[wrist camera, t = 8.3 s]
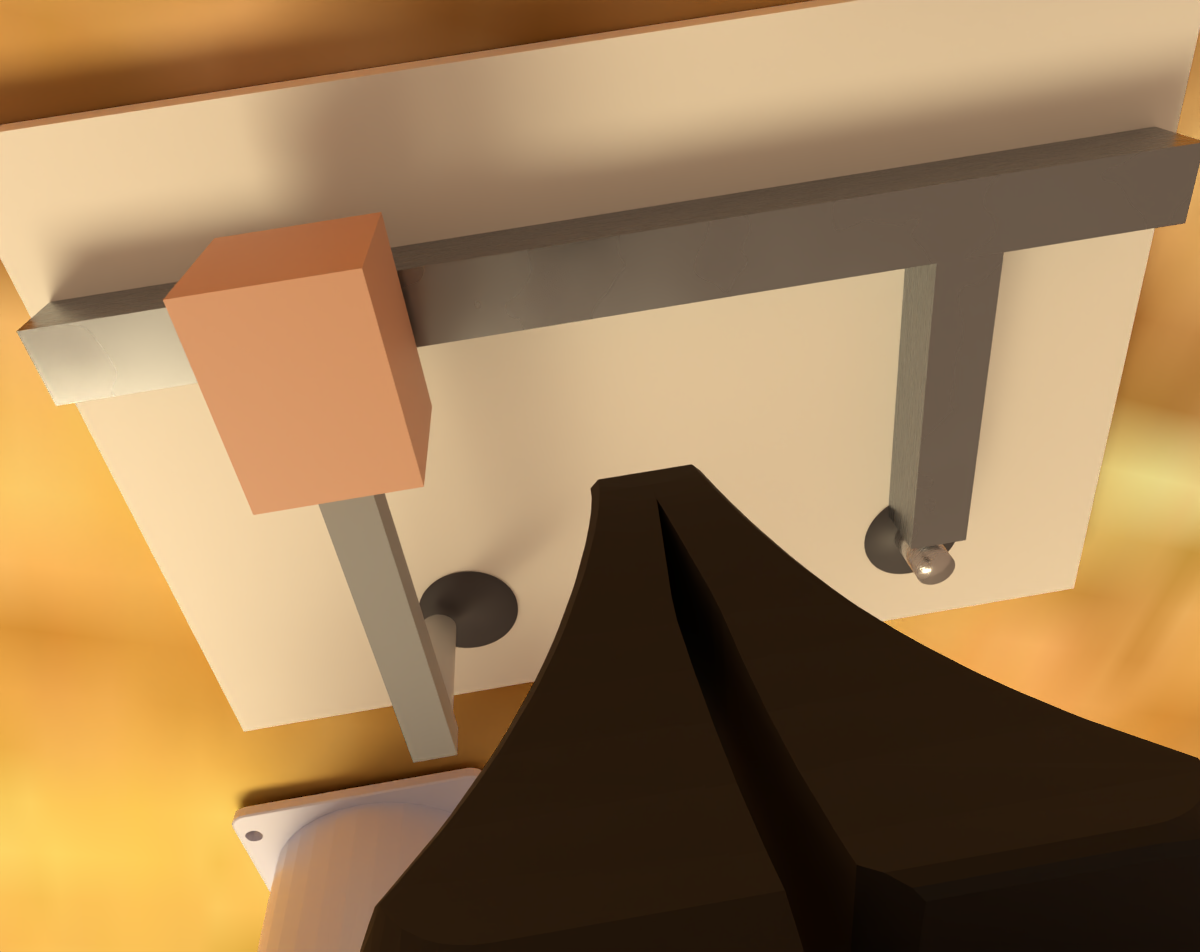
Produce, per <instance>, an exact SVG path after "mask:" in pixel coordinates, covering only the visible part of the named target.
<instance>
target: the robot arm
mask: <svg viewBox="0 0 1200 952" xmlns="http://www.w3.org/2000/svg"><path fill="white" fill-rule="evenodd" d="M591 496H592V501H591V515H590V522H589V528H588V533H587V538H586V543H585V547H584V551H583V555H582V558H581V562H580V566H579V570H578V573H577V577H576V580H575V584H574V587H573V590H572V593H571V595H570V598H569V601H568V603H567V606H566V609H565V612H564V614H563V617H562V620H561V623H560V625H559V628H558V631H557V633H556V636H555V638H554V640H553V643H552V645H551V647H550V650H549V652H548V654H547V656H546V658H545V661H544V663H543V665H542V667H541V669H540V671H539V673H538V675H537V677H536V679H535V681H534V683H533V685H532V687H531V689H530V691H529V693H528V695H527V697H526V698H525V700H524V702H523V704H522V705H521V707H520V709H519V711H518V713H517V714H516V716H515V718H514V720H513V722H512V723H511V725H510V727H509V729H508V730H507V732H506V734H505V735H504V737H503V739H502V740H501V742H500V743H499V745H498V747H497V748H496V750H495V751H494V753H493V755H492V756H491V758H490V759H489V761H488V762H487V763H486V765H485V766H484V768H483V769H482V770H480V769H477V768H464V769H458V770H453V771H447V772H441V773H435V774H430V775H424V776H418V777H413V778H407V779H401V780H395V781H390V782H384V783H378V784H373V785H367V786H361V787H355V788H350V789H344V790H338V791H333V792H327V793H321V794H315V795H310V796H304V797H298V798H293V799H287V800H281V801H275V802H270V803H264V804H258V805H253V806H247V807H244V808H241V809H239V810H238V811H236V813H235V815H234V819H233V822H232V825H233V829H234V830H235V832H236V834H237V836H238V837H239V839H240V841H241V842H242V844H243V846H244V848H245V849H246V851H247V853H248V855H249V856H250V858H251V860H252V862H253V863H254V865H255V867H256V869H257V870H258V872H259V874H260V875H261V877H262V879H263V881H264V882H265V884H266V886H267V888H268V889H269V891H270V896H269V900H268V905H267V910H266V914H265V919H264V923H263V928H262V933H261V937H260V942H259V946H258V951H257V952H1200V760H1199V759H1198V758H1196V757H1193V756H1190V755H1188V754H1185V753H1182V752H1179V751H1176V750H1173V749H1170V748H1167V747H1164V746H1162V745H1159V744H1156V743H1153V742H1150V741H1147V740H1144V739H1141V738H1138V737H1136V736H1133V735H1130V734H1127V733H1124V732H1121V731H1118V730H1115V729H1112V728H1110V727H1107V726H1104V725H1101V724H1098V723H1095V722H1092V721H1089V720H1087V719H1084V718H1081V717H1079V716H1076V715H1074V714H1071V713H1069V712H1066V711H1064V710H1061V709H1059V708H1057V707H1054V706H1052V705H1049V704H1047V703H1045V702H1042V701H1040V700H1037V699H1035V698H1033V697H1030V696H1028V695H1025V694H1023V693H1021V692H1018V691H1016V690H1014V689H1011V688H1009V687H1007V686H1005V685H1003V684H1000V683H998V682H996V681H994V680H992V679H990V678H987V677H985V676H983V675H981V674H979V673H977V672H975V671H972V670H970V669H969V668H967V667H965V666H963V665H961V664H959V663H957V662H955V661H953V660H951V659H949V658H947V657H945V656H943V655H941V654H939V653H937V652H935V651H933V650H932V649H930V648H928V647H926V646H924V645H922V644H920V643H918V642H917V641H915V640H913V639H911V638H909V637H908V636H906V635H904V634H902V633H901V632H899V631H897V630H895V629H894V628H892V627H891V626H889V625H887V624H886V623H884V622H882V621H881V620H879V619H878V618H876V617H874V616H873V615H871V614H870V613H868V612H866V611H865V610H863V609H862V608H860V607H858V606H857V605H855V604H854V603H852V602H851V601H850V600H848V599H847V598H845V597H844V596H842V595H841V594H840V593H838V592H837V591H835V590H834V589H833V588H831V587H830V586H829V585H827V584H826V583H825V582H823V581H822V580H821V579H819V578H818V577H817V576H815V575H814V574H813V573H811V572H810V571H809V570H808V569H806V568H805V567H804V566H802V565H801V564H800V563H799V562H798V561H796V560H795V559H794V558H793V557H791V556H790V555H789V554H788V553H787V552H785V551H784V550H783V549H782V548H781V547H780V546H778V545H777V544H776V543H775V542H774V541H773V540H772V539H770V538H769V537H768V536H767V535H766V534H765V533H763V532H762V531H761V530H760V529H759V528H758V527H757V526H756V525H754V524H753V523H752V522H751V521H750V520H749V519H748V518H747V517H746V516H745V515H744V514H743V513H742V512H741V511H740V510H738V509H737V508H736V507H735V506H734V505H733V504H732V503H731V502H730V501H729V500H728V499H727V498H726V497H725V496H724V495H723V494H722V493H721V492H720V491H719V490H718V489H717V488H716V487H715V486H714V485H713V483H712V482H711V481H710V480H709V479H708V478H707V477H706V476H705V475H704V474H703V473H702V472H701V471H700V470H699V469H698V468H696V467H695V466H694V465H692V464H690V465H684V466H678V467H671V468H665V469H659V470H653V471H647V472H641V473H634V474H628V475H622V476H616V477H610V478H604V479H598V480H597V481H596V483H595V484H594V485H593V486H592V487H591Z"/></svg>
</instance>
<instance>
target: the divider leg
mask: <svg viewBox="0 0 1200 952" xmlns="http://www.w3.org/2000/svg"><path fill="white" fill-rule="evenodd" d="M163 302H164V304H165V306H166V309H167V311H168V313H169V316H170V318H171V321H172V323H173V325H174V328H175V330H176V332H177V335H178V337H179V340H180V342H181V344H182V347H183V349H184V351H185V354H186V356H187V359H188V361H189V363H190V366H191V368H192V370H193V373H194V375H195V378H196V380H197V382H198V385H199V387H200V389H201V392H202V394H203V397H204V399H205V401H206V404H207V406H208V408H209V411H210V413H211V416H212V418H213V420H214V423H215V425H216V427H217V430H218V432H219V435H220V437H221V439H222V442H223V444H224V446H225V449H226V451H227V454H228V456H229V458H230V461H231V463H232V465H233V468H234V470H235V473H236V475H237V477H238V480H239V482H240V484H241V487H242V489H243V492H244V494H245V496H246V499H247V501H248V503H249V506H250V508H251V511H252V513H253V515H257V514H263V513H269V512H275V511H281V510H287V509H293V508H299V507H305V506H311V505H317V504H318V505H319V508H320V510H321V513H322V516H323V518H324V521H325V524H326V527H327V529H328V532H329V535H330V538H331V540H332V543H333V546H334V548H335V551H336V554H337V557H338V559H339V562H340V565H341V567H342V570H343V573H344V576H345V578H346V581H347V584H348V586H349V589H350V592H351V595H352V597H353V600H354V603H355V605H356V608H357V611H358V614H359V616H360V619H361V622H362V624H363V627H364V630H365V633H366V635H367V638H368V641H369V644H370V646H371V649H372V652H373V654H374V657H375V660H376V663H377V665H378V668H379V671H380V673H381V676H382V679H383V682H384V684H385V687H386V690H387V692H388V695H389V698H390V701H391V703H392V706H393V709H394V711H395V714H396V717H397V720H398V722H399V725H400V728H401V730H402V733H403V736H404V739H405V741H406V744H407V747H408V750H409V752H410V755H411V758H412V760H413V763H414V762H420V761H426V760H431V759H437V758H443V757H448V756H454V755H457V752H458V725H457V722H456V719H455V715H454V712H453V702H454V676H455V649H456V624H455V622H454V621H453V620H452V619H451V618H450V617H448V616H445V615H432V616H430V617H428V618H426V619H425V620H424V617H423V614H422V610H421V607H420V604H419V601H418V598H417V595H416V591H415V588H414V585H413V582H412V579H411V576H410V572H409V569H408V566H407V563H406V560H405V556H404V553H403V550H402V547H401V544H400V541H399V537H398V534H397V531H396V528H395V525H394V521H393V518H392V515H391V512H390V509H389V506H388V502H387V499H386V496H385V493H389V492H395V491H401V490H407V489H413V488H419V487H424V480H425V471H426V461H427V451H428V442H429V432H430V423H431V413H432V404H431V400H430V397H429V393H428V389H427V385H426V381H425V377H424V374H423V370H422V366H421V362H420V358H419V354H418V351H417V347H416V343H415V339H414V335H413V331H412V328H411V324H410V320H409V316H408V312H407V308H406V305H405V301H404V297H403V293H402V289H401V285H400V282H399V278H398V274H397V270H396V266H395V263H394V259H393V255H392V251H391V247H390V243H389V240H388V236H387V232H386V228H385V224H384V220H383V217H382V213H381V212H378V213H371V214H365V215H359V216H352V217H346V218H340V219H333V220H327V221H321V222H314V223H308V224H302V225H295V226H289V227H283V228H276V229H270V230H264V231H257V232H251V233H244V234H238V235H232V236H225V237H219V238H214V239H213V240H212V242H211V243H210V244H209V245H208V246H207V248H206V249H205V250H204V251H203V252H202V254H201V255H200V256H199V257H198V258H197V260H196V261H195V262H194V263H193V264H192V266H191V267H190V268H189V269H188V270H187V272H186V273H185V274H184V275H183V276H182V278H181V279H180V280H179V281H178V282H177V284H176V285H175V286H174V287H173V288H172V290H171V291H170V292H169V293H168V294H167V296H166V297H165V298H164V299H163Z"/></svg>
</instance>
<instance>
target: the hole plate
mask: <svg viewBox="0 0 1200 952" xmlns="http://www.w3.org/2000/svg"><path fill="white" fill-rule="evenodd" d="M1199 30H1200V0H812V1H806V2H799V3H793V4H786V5H780V6H773V7H766V8H760V9H753V10H747V11H740V12H734V13H727V14H721V15H714V16H708V17H701V18H695V19H688V20H682V21H675V22H668V23H662V24H655V25H649V26H642V27H636V28H629V29H623V30H616V31H610V32H603V33H597V34H590V35H584V36H577V37H570V38H564V39H557V40H551V41H544V42H538V43H531V44H525V45H518V46H512V47H505V48H499V49H492V50H486V51H479V52H473V53H466V54H459V55H453V56H446V57H440V58H433V59H427V60H420V61H414V62H407V63H401V64H394V65H388V66H381V67H375V68H368V69H361V70H355V71H348V72H342V73H335V74H329V75H322V76H316V77H309V78H303V79H296V80H290V81H283V82H277V83H270V84H263V85H257V86H250V87H244V88H237V89H231V90H224V91H218V92H211V93H205V94H198V95H192V96H185V97H179V98H172V99H165V100H159V101H152V102H146V103H139V104H133V105H126V106H120V107H113V108H107V109H100V110H94V111H87V112H81V113H74V114H67V115H61V116H54V117H48V118H41V119H35V120H28V121H22V122H15V123H9V124H2V125H0V258H1V260H2V262H3V264H4V266H5V268H6V270H7V272H8V274H9V276H10V278H11V280H12V282H13V284H14V286H15V288H16V290H17V291H18V293H19V295H20V297H21V299H22V301H23V303H24V305H25V307H26V309H27V311H28V313H29V315H30V317H31V318H32V317H33V316H34V315H36V314H37V313H38V312H39V311H40V310H41V309H42V308H43V307H45V306H46V305H47V304H48V303H49V302H52V301H58V300H65V299H71V298H77V297H84V296H90V295H96V294H102V293H109V292H115V291H121V290H128V289H134V288H140V287H147V286H153V285H159V284H165V283H172V282H178V281H179V280H180V279H181V278H182V276H183V275H184V274H185V273H186V272H187V270H188V269H189V268H190V267H191V266H192V264H193V263H194V262H195V261H196V260H197V258H198V257H199V256H200V255H201V254H202V252H203V251H204V250H205V249H206V248H207V246H208V245H209V244H210V243H211V242H212V240H213V239H214V238H219V237H225V236H232V235H238V234H244V233H251V232H257V231H264V230H270V229H276V228H283V227H289V226H295V225H302V224H308V223H314V222H321V221H327V220H333V219H340V218H346V217H352V216H359V215H365V214H371V213H378V212H381V213H382V217H383V220H384V224H385V228H386V232H387V236H388V240H389V243H390V247H391V248H392V247H399V246H405V245H411V244H418V243H424V242H430V241H436V240H443V239H449V238H455V237H462V236H468V235H474V234H481V233H487V232H493V231H500V230H506V229H512V228H518V227H525V226H531V225H537V224H544V223H550V222H556V221H563V220H569V219H575V218H581V217H588V216H594V215H600V214H607V213H613V212H619V211H626V210H632V209H638V208H644V207H651V206H657V205H663V204H670V203H676V202H682V201H689V200H695V199H701V198H708V197H714V196H720V195H726V194H733V193H739V192H745V191H752V190H758V189H764V188H771V187H777V186H783V185H789V184H796V183H802V182H808V181H815V180H821V179H827V178H834V177H840V176H846V175H852V174H859V173H865V172H871V171H878V170H884V169H890V168H897V167H903V166H909V165H915V164H922V163H928V162H934V161H941V160H947V159H953V158H960V157H966V156H972V155H979V154H985V153H991V152H997V151H1004V150H1010V149H1016V148H1023V147H1029V146H1035V145H1042V144H1048V143H1054V142H1060V141H1067V140H1073V139H1079V138H1086V137H1092V136H1098V135H1105V134H1111V133H1117V132H1123V131H1130V130H1136V129H1142V128H1149V127H1159V128H1162V129H1165V130H1168V131H1171V132H1175V133H1176V132H1177V127H1178V123H1179V118H1180V114H1181V109H1182V105H1183V101H1184V96H1185V92H1186V87H1187V83H1188V78H1189V74H1190V70H1191V65H1192V61H1193V56H1194V52H1195V47H1196V43H1197V38H1198V34H1199ZM1154 229H1155V228H1152V229H1146V230H1140V231H1134V232H1127V233H1121V234H1115V235H1109V236H1103V237H1097V238H1090V239H1084V240H1078V241H1072V242H1066V243H1059V244H1053V245H1047V246H1041V247H1035V248H1029V249H1022V250H1016V251H1010V252H1004V255H1003V263H1002V271H1001V278H1000V286H999V293H998V301H997V309H996V316H995V324H994V331H993V339H992V347H991V354H990V362H989V369H988V377H987V384H986V392H985V400H984V407H983V415H982V422H981V430H980V438H979V445H978V453H977V460H976V468H975V476H974V483H973V491H972V498H971V506H970V513H969V521H968V529H967V536H966V540H963V541H958V542H952V543H946V544H943V545H944V547H945V548H946V550H947V551H948V552H949V554H950V555H951V556H952V558H953V559H954V561H955V569H954V571H953V573H952V574H951V575H950V577H948V578H947V579H946V580H945V581H943V582H941V583H938V584H934V585H926V584H923V583H921V582H920V581H919V580H918V578H917V577H916V575H915V574H914V572H913V571H912V569H911V568H910V566H909V565H908V563H907V562H906V560H905V559H904V557H903V556H902V554H901V553H900V551H899V549H898V548H897V546H896V545H895V542H894V538H895V535H896V533H897V531H898V529H897V528H896V526H895V525H894V523H893V522H892V520H891V519H890V517H889V506H888V505H889V490H890V476H891V461H892V447H893V432H894V418H895V403H896V388H897V374H898V359H899V345H900V330H901V316H902V301H903V287H904V272H905V269H899V270H893V271H886V272H880V273H874V274H868V275H862V276H856V277H849V278H843V279H837V280H831V281H825V282H818V283H812V284H806V285H800V286H794V287H788V288H781V289H775V290H769V291H763V292H757V293H750V294H744V295H738V296H732V297H726V298H720V299H713V300H707V301H701V302H695V303H689V304H683V305H676V306H670V307H664V308H658V309H652V310H645V311H639V312H633V313H627V314H621V315H615V316H608V317H602V318H596V319H590V320H584V321H577V322H571V323H565V324H559V325H553V326H547V327H540V328H534V329H528V330H522V331H516V332H510V333H503V334H497V335H491V336H485V337H479V338H472V339H466V340H460V341H454V342H448V343H442V344H435V345H429V346H423V347H417V351H418V354H419V358H420V362H421V366H422V370H423V374H424V377H425V381H426V385H427V389H428V393H429V397H430V400H431V404H432V413H431V423H430V432H429V442H428V451H427V461H426V471H425V480H424V487H419V488H413V489H407V490H401V491H395V492H389V493H385V496H386V499H387V502H388V506H389V509H390V512H391V515H392V518H393V521H394V525H395V528H396V531H397V534H398V537H399V541H400V544H401V547H402V550H403V553H404V556H405V560H406V563H407V566H408V569H409V572H410V576H411V579H412V582H413V585H414V588H415V591H416V595H417V598H418V601H419V604H420V607H421V610H422V614H423V617H424V620H425V619H426V618H428V617H430V616H432V615H445V616H448V617H450V618H451V619H452V620H453V621H454V622H455V624H456V649H455V676H454V695H459V694H464V693H470V692H476V691H482V690H488V689H493V688H499V687H505V686H511V685H517V684H522V683H528V682H534V681H535V679H536V677H537V675H538V673H539V671H540V669H541V667H542V665H543V663H544V661H545V658H546V656H547V654H548V652H549V650H550V647H551V645H552V643H553V640H554V638H555V636H556V633H557V631H558V628H559V625H560V623H561V620H562V617H563V614H564V612H565V609H566V606H567V603H568V601H569V598H570V595H571V593H572V590H573V587H574V584H575V580H576V577H577V573H578V570H579V566H580V562H581V558H582V555H583V551H584V547H585V543H586V538H587V533H588V528H589V522H590V515H591V501H592V496H591V487H592V486H593V485H594V484H595V483H596V481H597V480H598V479H604V478H610V477H616V476H622V475H628V474H634V473H641V472H647V471H653V470H659V469H665V468H671V467H678V466H684V465H690V464H692V465H694V466H695V467H696V468H698V469H699V470H700V471H701V472H702V473H703V474H704V475H705V476H706V477H707V478H708V479H709V480H710V481H711V482H712V483H713V485H714V486H715V487H716V488H717V489H718V490H719V491H720V492H721V493H722V494H723V495H724V496H725V497H726V498H727V499H728V500H729V501H730V502H731V503H732V504H733V505H734V506H735V507H736V508H737V509H738V510H740V511H741V512H742V513H743V514H744V515H745V516H746V517H747V518H748V519H749V520H750V521H751V522H752V523H753V524H754V525H756V526H757V527H758V528H759V529H760V530H761V531H762V532H763V533H765V534H766V535H767V536H768V537H769V538H770V539H772V540H773V541H774V542H775V543H776V544H777V545H778V546H780V547H781V548H782V549H783V550H784V551H785V552H787V553H788V554H789V555H790V556H791V557H793V558H794V559H795V560H796V561H798V562H799V563H800V564H801V565H802V566H804V567H805V568H806V569H808V570H809V571H810V572H811V573H813V574H814V575H815V576H817V577H818V578H819V579H821V580H822V581H823V582H825V583H826V584H827V585H829V586H830V587H831V588H833V589H834V590H835V591H837V592H838V593H840V594H841V595H842V596H844V597H845V598H847V599H848V600H850V601H851V602H852V603H854V604H855V605H857V606H858V607H860V608H862V609H863V610H865V611H866V612H868V613H870V614H871V615H873V616H874V617H876V618H878V619H879V620H881V621H887V620H893V619H899V618H905V617H910V616H916V615H922V614H928V613H933V612H939V611H945V610H951V609H957V608H962V607H968V606H974V605H980V604H986V603H991V602H997V601H1003V600H1009V599H1015V598H1020V597H1026V596H1032V595H1038V594H1044V593H1049V592H1055V591H1061V590H1067V589H1072V588H1074V585H1075V580H1076V576H1077V571H1078V567H1079V563H1080V558H1081V554H1082V549H1083V545H1084V540H1085V536H1086V531H1087V527H1088V523H1089V518H1090V514H1091V509H1092V505H1093V500H1094V496H1095V491H1096V487H1097V483H1098V478H1099V474H1100V469H1101V465H1102V460H1103V456H1104V452H1105V447H1106V443H1107V438H1108V434H1109V429H1110V425H1111V420H1112V416H1113V412H1114V407H1115V403H1116V398H1117V394H1118V389H1119V385H1120V380H1121V376H1122V372H1123V367H1124V363H1125V358H1126V354H1127V349H1128V345H1129V340H1130V336H1131V332H1132V327H1133V323H1134V318H1135V314H1136V309H1137V305H1138V300H1139V296H1140V292H1141V287H1142V283H1143V278H1144V274H1145V269H1146V265H1147V261H1148V256H1149V252H1150V247H1151V243H1152V238H1153V234H1154ZM75 404H76V406H77V408H78V410H79V412H80V414H81V416H82V418H83V420H84V422H85V424H86V426H87V428H88V429H89V431H90V433H91V435H92V437H93V439H94V441H95V443H96V445H97V447H98V449H99V451H100V453H101V455H102V457H103V459H104V461H105V463H106V464H107V466H108V468H109V470H110V472H111V474H112V476H113V478H114V480H115V482H116V484H117V486H118V488H119V490H120V492H121V494H122V496H123V498H124V499H125V501H126V503H127V505H128V507H129V509H130V511H131V513H132V515H133V517H134V519H135V521H136V523H137V525H138V527H139V529H140V531H141V532H142V534H143V536H144V538H145V540H146V542H147V544H148V546H149V548H150V550H151V552H152V554H153V556H154V558H155V560H156V562H157V564H158V566H159V567H160V569H161V571H162V573H163V575H164V577H165V579H166V581H167V583H168V585H169V587H170V589H171V591H172V593H173V595H174V597H175V599H176V601H177V602H178V604H179V606H180V608H181V610H182V612H183V614H184V616H185V618H186V620H187V622H188V624H189V626H190V628H191V630H192V632H193V634H194V636H195V637H196V639H197V641H198V643H199V645H200V647H201V649H202V651H203V653H204V655H205V657H206V659H207V661H208V663H209V665H210V667H211V669H212V671H213V672H214V674H215V676H216V678H217V680H218V682H219V684H220V686H221V688H222V690H223V692H224V694H225V696H226V698H227V700H228V702H229V704H230V705H231V707H232V709H233V711H234V713H235V715H236V717H237V719H238V721H239V723H240V725H241V727H242V729H243V731H250V730H256V729H262V728H267V727H273V726H279V725H285V724H291V723H296V722H302V721H308V720H314V719H320V718H325V717H331V716H337V715H343V714H349V713H354V712H360V711H366V710H372V709H378V708H383V707H389V706H392V703H391V701H390V698H389V695H388V692H387V690H386V687H385V684H384V682H383V679H382V676H381V673H380V671H379V668H378V665H377V663H376V660H375V657H374V654H373V652H372V649H371V646H370V644H369V641H368V638H367V635H366V633H365V630H364V627H363V624H362V622H361V619H360V616H359V614H358V611H357V608H356V605H355V603H354V600H353V597H352V595H351V592H350V589H349V586H348V584H347V581H346V578H345V576H344V573H343V570H342V567H341V565H340V562H339V559H338V557H337V554H336V551H335V548H334V546H333V543H332V540H331V538H330V535H329V532H328V529H327V527H326V524H325V521H324V518H323V516H322V513H321V510H320V508H319V505H318V504H317V505H311V506H305V507H299V508H293V509H287V510H281V511H275V512H269V513H263V514H257V515H253V513H252V511H251V508H250V506H249V503H248V501H247V499H246V496H245V494H244V492H243V489H242V487H241V484H240V482H239V480H238V477H237V475H236V473H235V470H234V468H233V465H232V463H231V461H230V458H229V456H228V454H227V451H226V449H225V446H224V444H223V442H222V439H221V437H220V435H219V432H218V430H217V427H216V425H215V423H214V420H213V418H212V416H211V413H210V411H209V408H208V406H207V404H206V401H205V399H204V397H203V394H202V392H201V389H200V387H199V385H198V383H194V384H188V385H182V386H176V387H170V388H163V389H157V390H151V391H145V392H139V393H133V394H126V395H120V396H114V397H108V398H102V399H96V400H89V401H83V402H77V403H75Z"/></svg>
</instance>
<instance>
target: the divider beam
mask: <svg viewBox="0 0 1200 952" xmlns="http://www.w3.org/2000/svg"><path fill="white" fill-rule="evenodd" d="M1199 164H1200V140H1197V139H1194V138H1191V137H1187V136H1184V135H1181V134H1178V133H1175V132H1171V131H1168V130H1165V129H1162V128H1159V127H1149V128H1142V129H1136V130H1130V131H1123V132H1117V133H1111V134H1105V135H1098V136H1092V137H1086V138H1079V139H1073V140H1067V141H1060V142H1054V143H1048V144H1042V145H1035V146H1029V147H1023V148H1016V149H1010V150H1004V151H997V152H991V153H985V154H979V155H972V156H966V157H960V158H953V159H947V160H941V161H934V162H928V163H922V164H915V165H909V166H903V167H897V168H890V169H884V170H878V171H871V172H865V173H859V174H852V175H846V176H840V177H834V178H827V179H821V180H815V181H808V182H802V183H796V184H789V185H783V186H777V187H771V188H764V189H758V190H752V191H745V192H739V193H733V194H726V195H720V196H714V197H708V198H701V199H695V200H689V201H682V202H676V203H670V204H663V205H657V206H651V207H644V208H638V209H632V210H626V211H619V212H613V213H607V214H600V215H594V216H588V217H581V218H575V219H569V220H563V221H556V222H550V223H544V224H537V225H531V226H525V227H518V228H512V229H506V230H500V231H493V232H487V233H481V234H474V235H468V236H462V237H455V238H449V239H443V240H436V241H430V242H424V243H418V244H411V245H405V246H399V247H392V248H391V251H392V255H393V259H394V263H395V266H396V270H397V274H398V278H399V282H400V285H401V289H402V293H403V297H404V301H405V305H406V308H407V312H408V316H409V320H410V324H411V328H412V331H413V335H414V339H415V343H416V347H423V346H429V345H435V344H442V343H448V342H454V341H460V340H466V339H472V338H479V337H485V336H491V335H497V334H503V333H510V332H516V331H522V330H528V329H534V328H540V327H547V326H553V325H559V324H565V323H571V322H577V321H584V320H590V319H596V318H602V317H608V316H615V315H621V314H627V313H633V312H639V311H645V310H652V309H658V308H664V307H670V306H676V305H683V304H689V303H695V302H701V301H707V300H713V299H720V298H726V297H732V296H738V295H744V294H750V293H757V292H763V291H769V290H775V289H781V288H788V287H794V286H800V285H806V284H812V283H818V282H825V281H831V280H837V279H843V278H849V277H856V276H862V275H868V274H874V273H880V272H886V271H893V270H899V269H905V272H904V287H903V301H902V316H901V330H900V345H899V359H898V374H897V388H896V403H895V418H894V432H893V447H892V461H891V476H890V490H889V505H888V506H889V517H890V519H891V520H892V522H893V523H894V525H895V526H896V528H897V529H898V531H897V533H896V535H895V538H894V542H895V545H896V546H897V548H898V549H899V551H900V553H901V554H902V556H903V557H904V559H905V560H906V562H907V563H908V565H909V566H910V568H911V569H912V571H913V572H914V574H915V575H916V577H917V578H918V580H919V581H920V582H921V583H923V584H926V585H934V584H938V583H941V582H943V581H945V580H946V579H947V578H948V577H950V575H951V574H952V573H953V571H954V569H955V561H954V559H953V558H952V556H951V555H950V554H949V552H948V551H947V550H946V548H945V547H944V545H943V544H946V543H952V542H958V541H963V540H966V536H967V529H968V521H969V513H970V506H971V498H972V491H973V483H974V476H975V468H976V460H977V453H978V445H979V438H980V430H981V422H982V415H983V407H984V400H985V392H986V384H987V377H988V369H989V362H990V354H991V347H992V339H993V331H994V324H995V316H996V309H997V301H998V293H999V286H1000V278H1001V271H1002V263H1003V255H1004V252H1010V251H1016V250H1022V249H1029V248H1035V247H1041V246H1047V245H1053V244H1059V243H1066V242H1072V241H1078V240H1084V239H1090V238H1097V237H1103V236H1109V235H1115V234H1121V233H1127V232H1134V231H1140V230H1146V229H1152V228H1158V227H1164V226H1171V225H1177V224H1183V223H1185V221H1186V217H1187V213H1188V209H1189V205H1190V201H1191V197H1192V193H1193V189H1194V184H1195V180H1196V176H1197V172H1198V168H1199ZM176 284H177V282H172V283H165V284H159V285H153V286H147V287H140V288H134V289H128V290H121V291H115V292H109V293H102V294H96V295H90V296H84V297H77V298H71V299H65V300H58V301H52V302H49V303H48V304H47V305H46V306H45V307H43V308H42V309H41V310H40V311H39V312H38V313H37V314H36V315H34V316H33V317H32V318H31V319H30V320H29V321H28V322H27V323H25V324H24V325H23V326H22V327H21V328H20V329H19V330H18V331H17V333H18V335H19V337H20V339H21V341H22V342H23V344H24V346H25V348H26V350H27V352H28V354H29V356H30V358H31V359H32V361H33V363H34V365H35V367H36V369H37V371H38V373H39V375H40V376H41V378H42V380H43V382H44V384H45V386H46V388H47V390H48V392H49V393H50V395H51V397H52V399H53V401H54V403H55V405H56V406H58V405H65V404H71V403H77V402H83V401H89V400H96V399H102V398H108V397H114V396H120V395H126V394H133V393H139V392H145V391H151V390H157V389H163V388H170V387H176V386H182V385H188V384H194V383H198V382H197V380H196V378H195V375H194V373H193V370H192V368H191V366H190V363H189V361H188V359H187V356H186V354H185V351H184V349H183V347H182V344H181V342H180V340H179V337H178V335H177V332H176V330H175V328H174V325H173V323H172V321H171V318H170V316H169V313H168V311H167V309H166V306H165V304H164V302H163V299H164V298H165V297H166V296H167V294H168V293H169V292H170V291H171V290H172V288H173V287H174V286H175V285H176Z"/></svg>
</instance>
